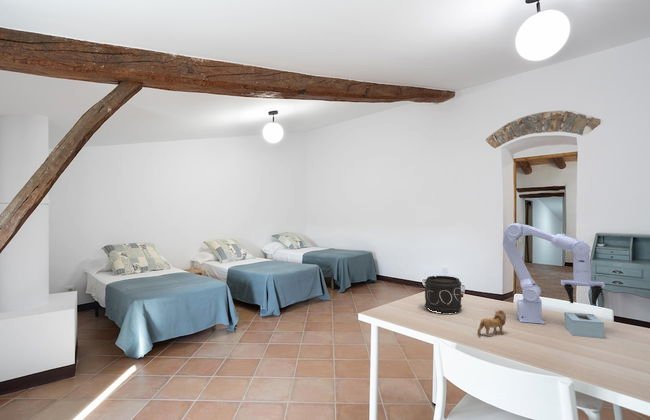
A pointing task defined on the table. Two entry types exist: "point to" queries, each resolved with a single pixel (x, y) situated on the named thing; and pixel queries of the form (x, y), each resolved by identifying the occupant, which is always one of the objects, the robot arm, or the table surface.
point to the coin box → (584, 325)
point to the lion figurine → (493, 323)
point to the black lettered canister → (443, 294)
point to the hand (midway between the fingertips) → (582, 303)
